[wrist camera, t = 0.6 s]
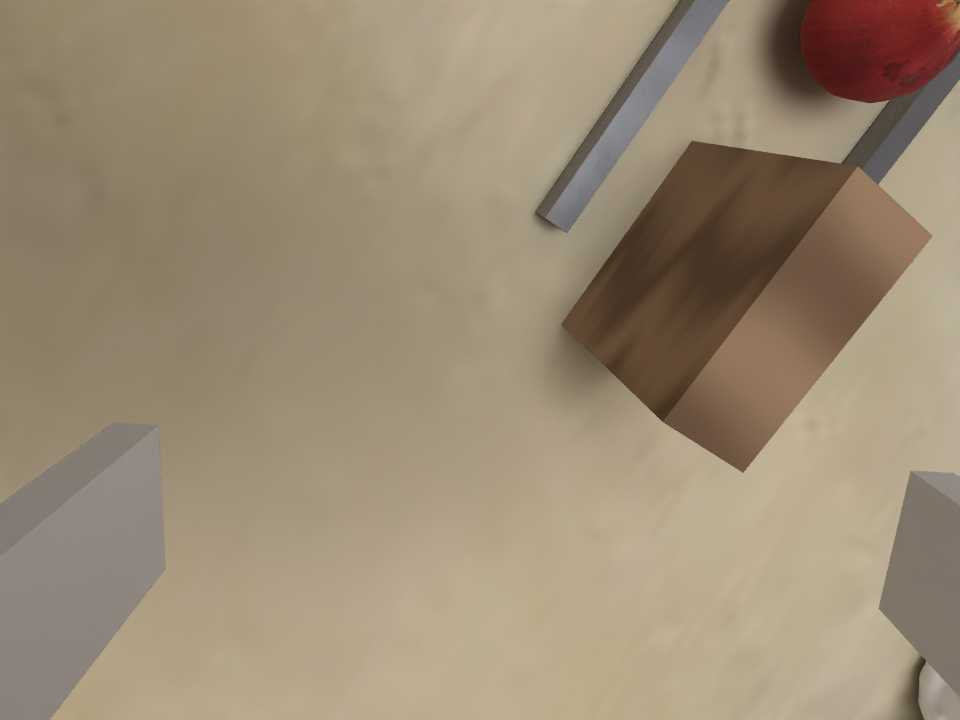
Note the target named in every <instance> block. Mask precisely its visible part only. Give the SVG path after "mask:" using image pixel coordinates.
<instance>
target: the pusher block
mask: <svg viewBox="0 0 960 720" xmlns="http://www.w3.org/2000/svg"><path fill="white" fill-rule="evenodd" d="M931 238H932V235H931V234H930V233H929V232H928V231H927V230H926V229H925V228H924V227H923V226H921V225H920V224H919V223H918V222H917V221H916V220H915V219H914V218H913V217H912V216H911V215H910V214H909V213H908V212H906V211H905V210H904V209H903V208H902V207H901V206H900V205H899V204H898V203H897V202H896V201H895V200H894V199H892V198H891V197H890V196H889V195H888V194H887V193H886V192H885V191H884V190H883V189H882V188H881V187H880V186H879V185H877V184H876V183H875V182H874V181H873V180H872V179H871V178H870V177H869V176H868V175H867V174H866V173H865V172H863V171H862V170H861V169H860V168H859V167H858V166H852V165H846V164H839V163H833V162H826V161H820V160H813V159H806V158H800V157H793V156H787V155H780V154H774V153H767V152H761V151H754V150H747V149H741V148H734V147H728V146H721V145H715V144H708V143H702V142H695V141H692V142H691V143H690V145H689V146H688V148H687V149H686V150H685V152H684V153H683V155H682V156H681V157H680V159H679V160H678V162H677V163H676V164H675V166H674V167H673V169H672V170H671V171H670V173H669V174H668V176H667V177H666V178H665V180H664V181H663V183H662V184H661V185H660V187H659V188H658V190H657V191H656V192H655V194H654V195H653V197H652V198H651V199H650V201H649V202H648V204H647V205H646V206H645V208H644V209H643V211H642V212H641V213H640V215H639V216H638V218H637V219H636V220H635V222H634V223H633V225H632V226H631V227H630V229H629V230H628V232H627V233H626V234H625V236H624V237H623V239H622V240H621V241H620V243H619V244H618V246H617V247H616V248H615V250H614V251H613V253H612V254H611V255H610V257H609V258H608V260H607V261H606V262H605V264H604V265H603V267H602V268H601V269H600V271H599V272H598V274H597V275H596V276H595V278H594V279H593V281H592V282H591V283H590V285H589V286H588V288H587V289H586V290H585V292H584V293H583V295H582V296H581V297H580V299H579V300H578V302H577V303H576V304H575V306H574V307H573V309H572V310H571V311H570V313H569V314H568V316H567V317H566V318H565V320H564V321H563V323H562V325H563V326H564V327H565V328H566V329H567V330H568V331H569V332H570V333H571V334H572V335H574V336H575V337H576V338H577V339H578V340H579V341H580V342H581V343H582V344H583V345H584V346H585V347H586V348H587V349H588V350H589V351H590V352H591V353H592V354H593V355H594V356H595V357H596V358H597V359H598V360H599V361H600V362H601V363H602V364H603V365H605V366H606V367H607V368H608V369H609V370H610V371H611V372H612V373H613V374H614V375H615V376H616V377H617V378H618V379H619V380H620V381H621V382H622V383H623V384H624V385H625V386H626V387H627V388H628V389H629V390H630V391H631V392H632V393H633V394H635V395H636V396H637V397H638V398H639V399H640V400H641V401H642V402H643V403H644V404H645V405H646V406H647V407H648V408H649V409H650V410H651V411H652V412H653V413H654V414H655V415H656V416H657V417H658V418H659V419H660V420H661V421H662V422H664V423H665V424H667V425H669V426H670V427H672V428H673V429H675V430H676V431H678V432H680V433H681V434H683V435H684V436H686V437H688V438H689V439H691V440H692V441H694V442H695V443H697V444H699V445H700V446H702V447H703V448H705V449H706V450H708V451H710V452H711V453H713V454H714V455H716V456H718V457H719V458H721V459H722V460H724V461H725V462H727V463H729V464H730V465H732V466H733V467H735V468H737V469H738V470H740V471H741V472H744V471H745V470H746V469H747V467H748V466H749V465H750V464H751V462H752V461H753V460H754V459H755V457H756V456H757V455H758V454H759V452H760V451H761V450H762V449H763V447H764V446H765V445H766V444H767V442H768V441H769V440H770V439H771V437H772V436H773V435H774V434H775V432H776V431H777V430H778V429H779V427H780V426H781V425H782V424H783V422H784V421H785V420H786V419H787V417H788V416H789V415H790V414H791V412H792V411H793V410H794V409H795V407H796V406H797V405H798V404H799V402H800V401H801V400H802V399H803V397H804V396H805V395H806V394H807V392H808V391H809V390H810V389H811V387H812V386H813V385H814V384H815V382H816V381H817V380H818V379H819V377H820V376H821V375H822V374H823V372H824V371H825V370H826V369H827V367H828V366H829V365H830V364H831V362H832V361H833V360H834V359H835V357H836V356H837V355H838V354H839V352H840V351H841V350H842V349H843V347H844V346H845V345H846V344H847V342H848V341H849V340H850V339H851V337H852V336H853V335H854V334H855V332H856V331H857V330H858V329H859V327H860V326H861V325H862V324H863V322H864V321H865V320H866V319H867V317H868V316H869V315H870V314H871V312H872V311H873V310H874V309H875V307H876V306H877V305H878V304H879V302H880V301H881V300H882V299H883V297H884V296H885V295H886V294H887V292H888V291H889V290H890V289H891V287H892V286H893V285H894V284H895V282H896V281H897V280H898V279H899V277H900V276H901V275H902V274H903V272H904V271H905V270H906V269H907V267H908V266H909V265H910V264H911V262H912V261H913V260H914V259H915V258H916V256H917V255H918V254H919V253H920V251H921V250H922V249H923V248H924V246H925V245H926V244H927V243H928V241H929V240H930V239H931Z"/></svg>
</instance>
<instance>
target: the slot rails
mask: <svg viewBox="0 0 960 720" xmlns="http://www.w3.org/2000/svg"><path fill="white" fill-rule="evenodd" d="M728 2H729V0H680V2H679V3H678V5H677V6H676V8H675V9H674V11H673V12H672V14H671V15H670V17H669V18H668V19H667V21H666V22H665V24H664V25H663V27H662V28H661V30H660V31H659V33H658V34H657V35H656V37H655V38H654V40H653V41H652V43H651V44H650V46H649V47H648V49H647V50H646V52H645V53H644V54H643V56H642V57H641V59H640V60H639V62H638V63H637V65H636V66H635V68H634V69H633V71H632V72H631V73H630V75H629V76H628V78H627V79H626V81H625V82H624V84H623V85H622V87H621V88H620V90H619V91H618V92H617V94H616V95H615V97H614V98H613V100H612V101H611V103H610V104H609V106H608V107H607V109H606V110H605V111H604V113H603V114H602V116H601V117H600V119H599V120H598V122H597V123H596V125H595V126H594V128H593V129H592V130H591V132H590V133H589V135H588V136H587V138H586V139H585V141H584V142H583V144H582V145H581V147H580V148H579V149H578V151H577V152H576V154H575V155H574V157H573V158H572V160H571V161H570V163H569V164H568V166H567V167H566V168H565V170H564V171H563V173H562V174H561V176H560V177H559V179H558V180H557V182H556V183H555V185H554V186H553V187H552V189H551V190H550V192H549V193H548V195H547V196H546V198H545V199H544V201H543V202H542V204H541V205H540V206H539V208H538V209H537V211H536V213H538V214H539V215H540V216H542V217H543V218H545V219H546V220H547V221H549V222H550V223H552V224H553V225H554V226H556V227H557V228H559V229H561V230H562V231H564V232H566V233H567V232H568V231H569V230H570V228H571V227H572V225H573V224H574V222H575V221H576V220H577V218H578V217H579V215H580V214H581V212H582V211H583V209H584V208H585V207H586V205H587V204H588V202H589V201H590V199H591V198H592V197H593V195H594V194H595V192H596V191H597V189H598V188H599V187H600V185H601V184H602V182H603V181H604V179H605V178H606V176H607V175H608V174H609V172H610V171H611V169H612V168H613V166H614V165H615V164H616V162H617V161H618V159H619V158H620V156H621V155H622V154H623V152H624V151H625V149H626V148H627V146H628V145H629V144H630V142H631V141H632V139H633V138H634V136H635V135H636V133H637V132H638V131H639V129H640V128H641V126H642V125H643V123H644V122H645V121H646V119H647V118H648V116H649V115H650V113H651V112H652V111H653V109H654V108H655V106H656V105H657V103H658V102H659V100H660V99H661V98H662V96H663V95H664V93H665V92H666V90H667V89H668V88H669V86H670V85H671V83H672V82H673V80H674V79H675V78H676V76H677V75H678V73H679V72H680V70H681V69H682V68H683V66H684V65H685V63H686V62H687V60H688V59H689V57H690V56H691V55H692V53H693V52H694V50H695V49H696V47H697V46H698V45H699V43H700V42H701V40H702V39H703V37H704V36H705V35H706V33H707V32H708V30H709V29H710V27H711V26H712V24H713V23H714V22H715V20H716V19H717V17H718V16H719V14H720V13H721V12H722V10H723V9H724V7H725V6H726V4H727V3H728ZM959 79H960V51H959V54H958V55H957V57H956V58H955V60H954V61H953V62H952V63H951V64H950V65H949V66H947V67H946V68H945V69H944V70H943V71H942V72H940V73H939V74H938V75H937V76H936V77H935V78H933V79H932V80H931V81H930V82H929V83H927V84H926V85H925V86H924V87H922V88H920V89H918V90H916V91H914V92H912V93H910V94H906V95H903V96H900V97H896V98H893V99H891V100H890V102H889V103H888V104H887V105H886V107H885V108H884V109H883V111H882V112H881V113H880V115H879V116H878V117H877V119H876V120H875V121H874V123H873V124H872V125H871V127H870V128H869V129H868V130H867V132H866V133H865V134H864V136H863V137H862V138H861V140H860V141H859V142H858V144H857V145H856V146H855V148H854V149H853V150H852V152H851V153H850V154H849V155H848V157H847V158H846V159H845V161H844V162H843V163H842V164H846V165H852V166H858V167H859V168H860V169H861V170H862V171H863V172H865V173H866V174H867V175H868V176H869V177H870V178H871V179H872V180H873V181H874V182H875V183H876V184H877V185H878V184H879V183H880V181H881V180H882V179H883V178H884V176H885V175H886V174H887V172H888V171H889V170H890V168H891V167H892V166H893V165H894V163H895V162H896V161H897V159H898V158H899V157H900V156H901V154H902V153H903V152H904V150H905V149H906V148H907V147H908V145H909V144H910V143H911V141H912V140H913V139H914V137H915V136H916V135H917V134H918V132H919V131H920V130H921V128H922V127H923V126H924V125H925V123H926V122H927V121H928V119H929V118H930V117H931V116H932V114H933V113H934V112H935V110H936V109H937V108H938V106H939V105H940V104H941V103H942V101H943V100H944V99H945V97H946V96H947V95H948V94H949V92H950V91H951V90H952V88H953V87H954V86H955V85H956V83H957V82H958V81H959Z"/></svg>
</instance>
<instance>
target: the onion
mask: <svg viewBox="0 0 960 720" xmlns="http://www.w3.org/2000/svg"><path fill="white" fill-rule="evenodd" d="M800 34H801V54H802V56H803V59H804V61H805V63H806V65H807V68H808V70H809V72H810V74H811V75H812V76H813V78H814V79H815V80H816V81H817V82H818V83H819V84H820V85H822V86H823V87H824V88H825V89H826V90H828V91H829V92H830V93H831V94H832V95H835V96H839V97H842V98H846V99H851V100H856V101H861V102H866V103H875V102H882V101H886V100H890V99H893V98H896V97H900V96H903V95H906V94H910V93H912V92H914V91H916V90H918V89H920V88H922V87H924V86H925V85H926V84H927V83H929V82H930V81H931V80H932V79H933V78H935V77H936V76H937V75H938V74H939V73H940V72H942V71H943V70H944V69H945V68H946V67H947V66H949V65H950V64H951V63H952V62H953V61H954V60H955V58H956V57H957V55H958V54H959V51H960V0H810V1H809V2H808V4H807V8H806V11H805V15H804V18H803V21H802V25H801V28H800Z"/></svg>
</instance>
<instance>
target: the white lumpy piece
mask: <svg viewBox="0 0 960 720" xmlns="http://www.w3.org/2000/svg"><path fill="white" fill-rule="evenodd" d="M918 701H919V706H920V709H921V712H922V715H923V718H924V720H960V698H959V696H958V695H957V694H956V693H955V692H954V691H953V690H952V689H951V688H950V687H949V685H948V684H947V683H946V682H945V681H944V680H943V679H942V678H941V677H940V676H939V674H938V673H937V672H936V671H935V670H934V669H933V668H932V667H931V666H930V664H929V663H928V662H927V661H926V662H925V665H924V666H923V668H922V670H921V672H920V676H919V698H918Z"/></svg>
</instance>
